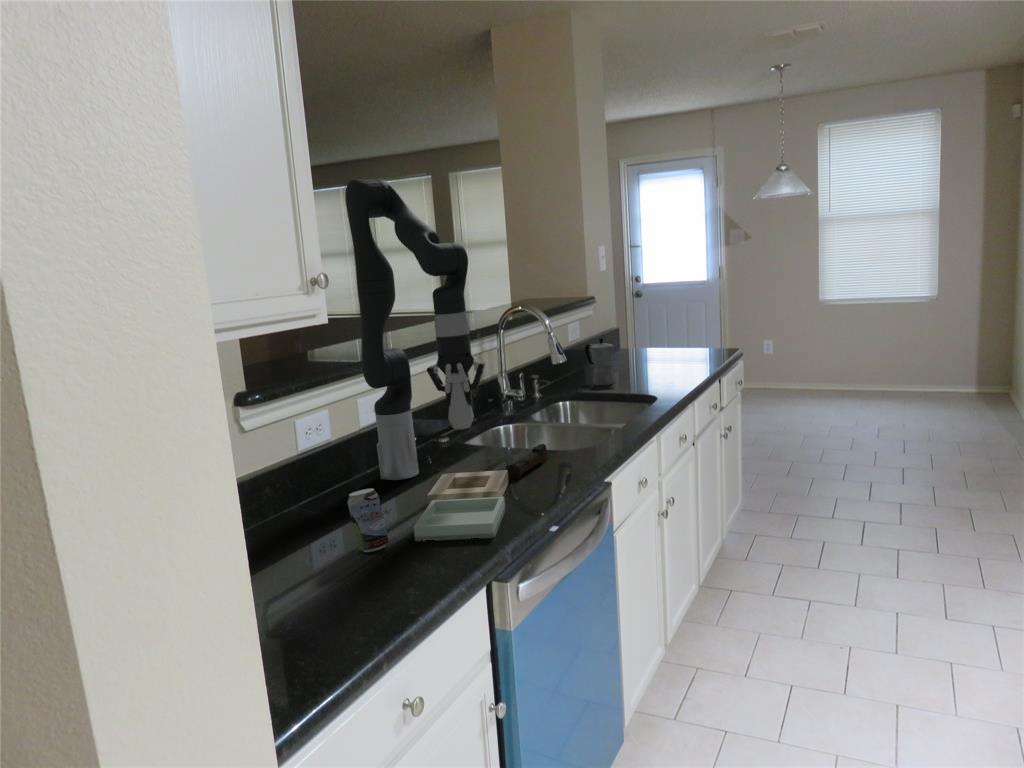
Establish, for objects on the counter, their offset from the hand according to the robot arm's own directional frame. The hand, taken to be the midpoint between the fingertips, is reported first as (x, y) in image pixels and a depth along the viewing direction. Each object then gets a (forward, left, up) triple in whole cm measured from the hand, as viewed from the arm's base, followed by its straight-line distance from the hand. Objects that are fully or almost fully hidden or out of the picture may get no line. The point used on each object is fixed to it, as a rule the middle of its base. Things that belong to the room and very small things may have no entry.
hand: (460, 407), depth 175 cm
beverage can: (-14, -31, -21) cm, 40 cm away
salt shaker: (0, 0, -5) cm, 5 cm away
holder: (0, 0, -21) cm, 21 cm away
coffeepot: (+29, +132, -21) cm, 137 cm away
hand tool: (+12, +19, -21) cm, 31 cm away
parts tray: (+2, -20, -21) cm, 29 cm away
